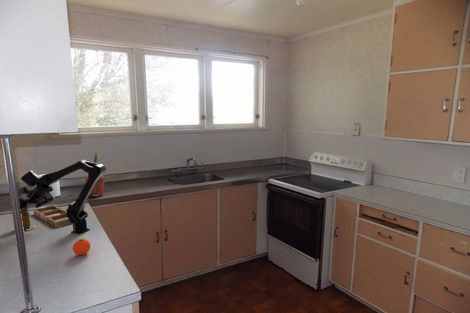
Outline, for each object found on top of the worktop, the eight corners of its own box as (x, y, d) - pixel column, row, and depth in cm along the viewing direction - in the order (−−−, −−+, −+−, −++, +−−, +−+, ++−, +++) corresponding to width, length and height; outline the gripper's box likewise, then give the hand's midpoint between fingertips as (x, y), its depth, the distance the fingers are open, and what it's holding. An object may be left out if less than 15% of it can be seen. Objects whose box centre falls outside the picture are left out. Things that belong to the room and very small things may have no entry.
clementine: (70, 254, 130) (68, 238, 129) (86, 248, 135) (84, 234, 134) (77, 259, 125) (75, 244, 124) (93, 253, 130) (92, 238, 129)
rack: (78, 221, 171) (78, 216, 170) (55, 227, 162) (55, 222, 161) (54, 209, 194) (54, 205, 194) (33, 214, 185) (33, 209, 185)
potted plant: (104, 192, 236) (100, 149, 231) (107, 196, 223) (104, 151, 218) (80, 196, 227) (75, 151, 222) (82, 200, 214) (77, 153, 209)
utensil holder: (36, 201, 215) (33, 178, 212) (40, 196, 228) (37, 174, 226) (59, 198, 221) (57, 175, 218) (62, 194, 234) (59, 172, 232)
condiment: (21, 226, 165) (19, 206, 163) (37, 225, 166) (35, 205, 164) (13, 231, 158) (10, 210, 156) (30, 230, 158) (27, 209, 157)
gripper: (47, 176, 163) (36, 194, 168) (12, 184, 146) (0, 203, 151) (59, 191, 161) (47, 209, 167) (24, 201, 144) (12, 220, 149)
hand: (27, 209), depth 159 cm, fingers open, 9 cm apart
